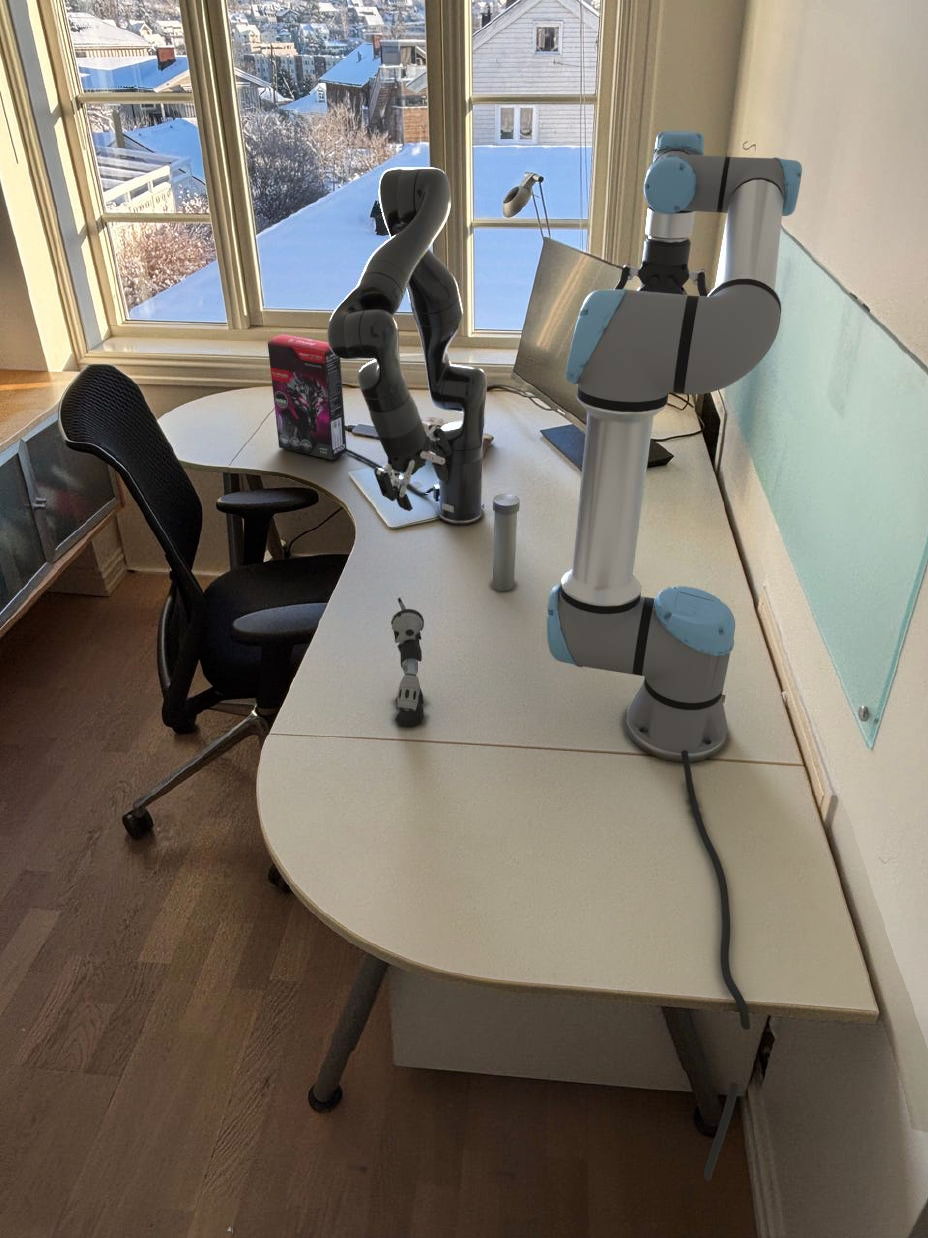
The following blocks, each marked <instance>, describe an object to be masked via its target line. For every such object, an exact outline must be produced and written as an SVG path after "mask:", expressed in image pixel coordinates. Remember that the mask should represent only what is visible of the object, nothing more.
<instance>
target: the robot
mask: <svg viewBox="0 0 928 1238" xmlns="http://www.w3.org/2000/svg"><path fill="white" fill-rule="evenodd" d="M397 603H398V604H399V607H400V610H399V611H397V612H396V613H395V614H394V615H392V618H391V621H390V624H391V630H392V632H393V635H394V643H395V644H398V645H397V646H396V647H397V649H398V651H399V654H400V668H401V669H402V671H403V674H404V675H403V676H402V678H401V680H400V683H399V686H398V689H397V691H398V692H397V696H396V699H395V703H396V705H397V709H398V712H397V714H396V717H395V722H396V723H397V724H398V725H399V726H400V727H405V728H411V727H414V726H417V725H420V724H422V722H423V720H424V718H425V715H424V707H423V704H424V703H425V702H424V694H423V692H422V689H421V684H420V683H421V682H420V679H419V676H418V675H417V674H418V673H419V662H420V663H421V662H422V660H423V653H422V652H423V651H422V647H421V643H420V641H421V640H422V634H421V632H422V631H423V629H424V628H425V627H424V626H425V619H424V617H423V615H422V614H421V612H420V611H418V610H416V609H413V608H406V605H405V604H404V602H403V600H402V599H401V597H398V598H397Z"/></svg>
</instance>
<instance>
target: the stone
mask: <svg viewBox="0 0 928 1238" xmlns="http://www.w3.org/2000/svg"><path fill="white" fill-rule="evenodd" d="M421 421H422V423H423V426H424V429H425V432H426V433H427V432H428V431H429V429H428V428H429V425H430V424H433V425H435V426H437V427H439V428H441V427H442V426H444V425H445V424H448V423H449V422H448V421H445V420H444V419H443V418H439V417H434V416H429V417H427V418H421ZM494 439H495V437H494V436H493V435H492V434H489V433H487V432H483V448H482V458H483V457H484V455H485V454H486V451H487V449H488V448H489V446H490V445H491V444H492V442H493V441H494ZM430 443H433V446H434V447H436V445H435V443H434V441H433V440H430Z"/></svg>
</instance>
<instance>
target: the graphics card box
mask: <svg viewBox="0 0 928 1238" xmlns="http://www.w3.org/2000/svg"><path fill="white" fill-rule="evenodd" d="M267 351H268V359H269V367H270V369H269V370H270V377H271V378H270V379H271V385H272V386H271V387H272V395H273V403H274V412H275V413H274V414H275V423H276V433H277V441H278V442H277V443H278V448H279V449H283V450H287V451H288V450H289V451H292V452H297V453H301V454H305V455H309V456H314V457H317V458H322V459H326V460H330V461H333V460H335V459H337V458H339V457H340V456H342V455H344V454H345V453H348V452H347V449H348V448H347V447H348V446H347V434H346V420H345V407H344V406H345V405H344V393H343V380H342V364H341V363H342V362H341V358H339V357H337V356H336V355H335V354H334V353H333V352H332V351H331V349H330V347H329V344H328V341H322V340H317V339H311V338H306V337H300V336H295V335H289V334H285V333H282V334H279V335H277V336H274V337H273V338H271V339H270V340H268V341H267Z"/></svg>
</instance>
